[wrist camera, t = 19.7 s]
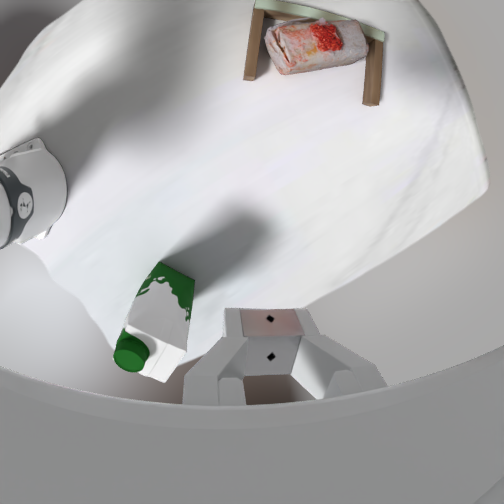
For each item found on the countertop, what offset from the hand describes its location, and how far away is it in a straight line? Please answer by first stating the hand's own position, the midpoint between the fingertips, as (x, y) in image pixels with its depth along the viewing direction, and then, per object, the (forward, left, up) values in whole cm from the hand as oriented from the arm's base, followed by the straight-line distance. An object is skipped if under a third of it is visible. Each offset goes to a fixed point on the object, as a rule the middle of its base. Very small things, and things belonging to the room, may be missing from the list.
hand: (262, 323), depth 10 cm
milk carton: (-10, -19, -34) cm, 41 cm away
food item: (+9, +23, -35) cm, 42 cm away
